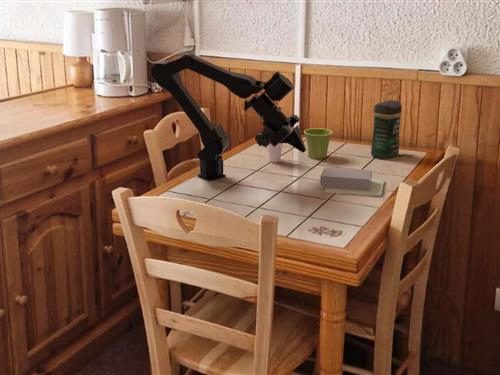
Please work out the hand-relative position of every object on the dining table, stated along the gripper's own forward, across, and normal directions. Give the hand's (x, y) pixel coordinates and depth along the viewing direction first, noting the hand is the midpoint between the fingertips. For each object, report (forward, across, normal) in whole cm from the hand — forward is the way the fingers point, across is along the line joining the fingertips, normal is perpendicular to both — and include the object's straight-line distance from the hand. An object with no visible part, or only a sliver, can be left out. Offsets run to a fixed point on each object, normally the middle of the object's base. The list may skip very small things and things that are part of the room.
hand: (304, 151), depth 198 cm
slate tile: (+9, 0, -1) cm, 9 cm away
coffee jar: (+22, -35, +9) cm, 42 cm away
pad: (+17, 0, +4) cm, 18 cm away
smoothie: (-2, -21, -16) cm, 27 cm away
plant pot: (+7, -29, -7) cm, 30 cm away
